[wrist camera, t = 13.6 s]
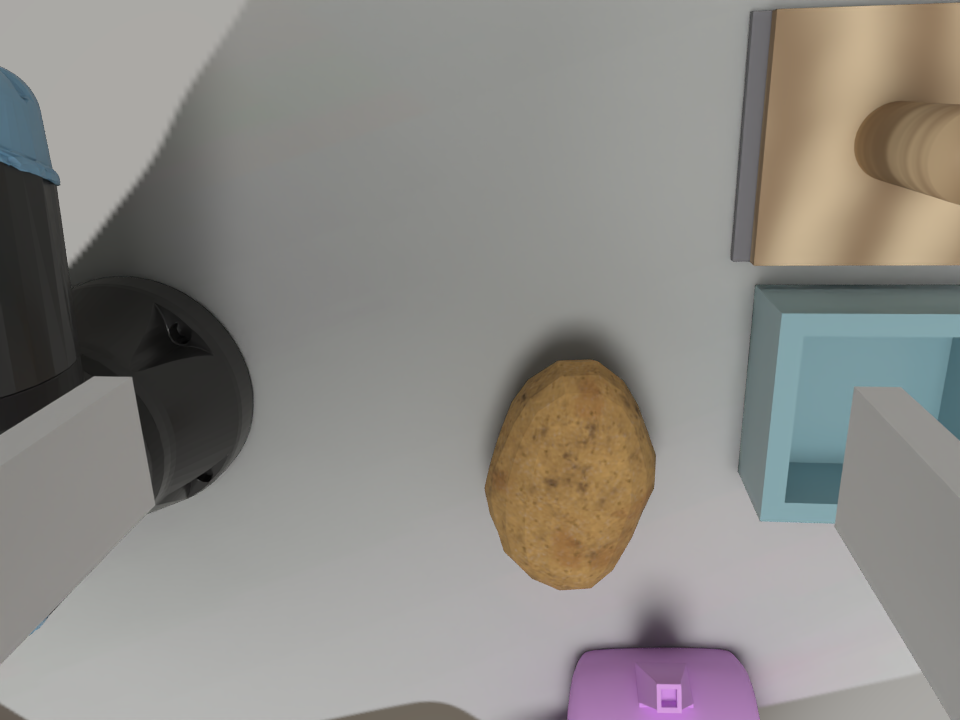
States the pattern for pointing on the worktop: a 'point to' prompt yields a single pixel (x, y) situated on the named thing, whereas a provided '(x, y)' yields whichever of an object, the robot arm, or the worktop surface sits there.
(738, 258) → the mat
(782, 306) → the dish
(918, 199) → the lid
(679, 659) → the teakettle
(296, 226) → the worktop surface
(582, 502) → the potato
